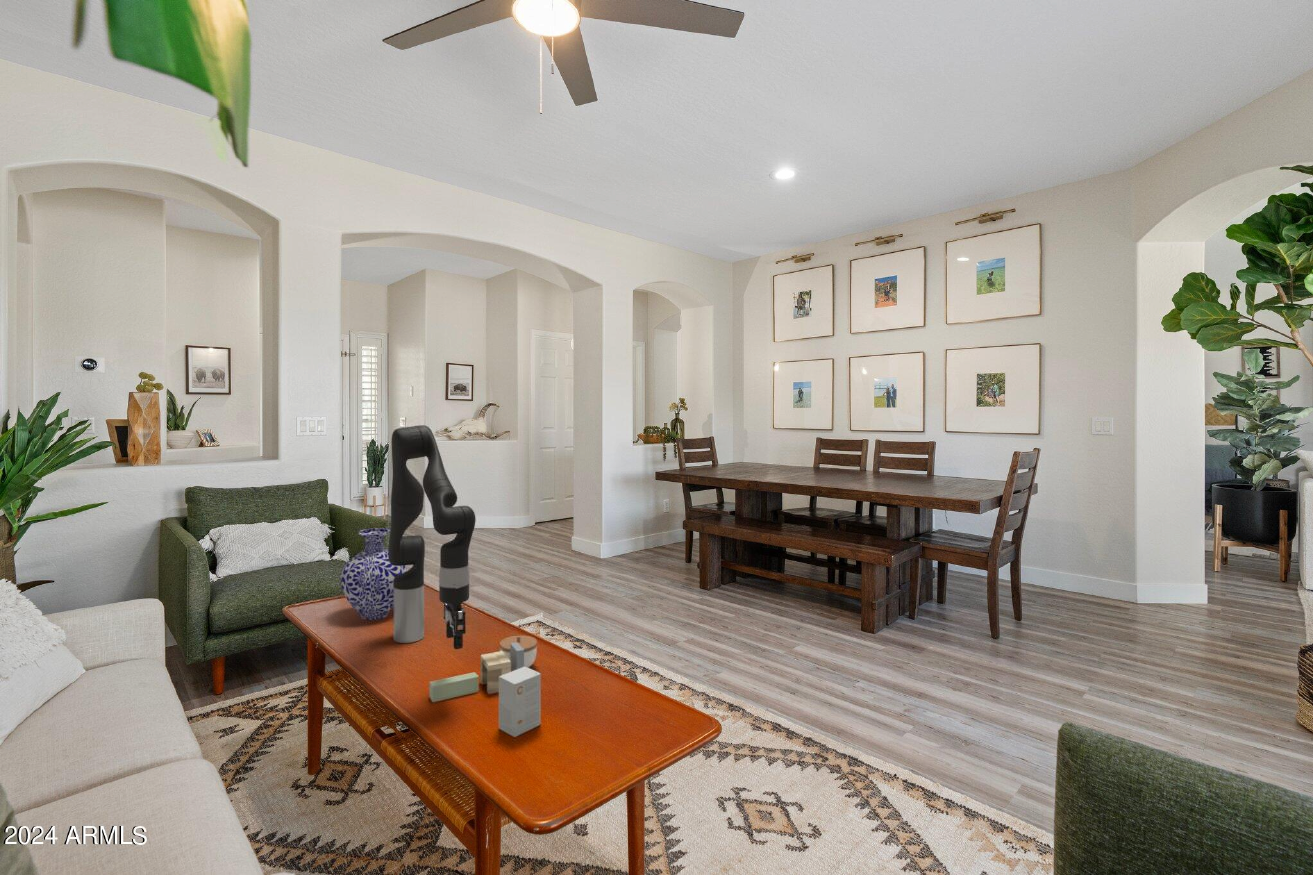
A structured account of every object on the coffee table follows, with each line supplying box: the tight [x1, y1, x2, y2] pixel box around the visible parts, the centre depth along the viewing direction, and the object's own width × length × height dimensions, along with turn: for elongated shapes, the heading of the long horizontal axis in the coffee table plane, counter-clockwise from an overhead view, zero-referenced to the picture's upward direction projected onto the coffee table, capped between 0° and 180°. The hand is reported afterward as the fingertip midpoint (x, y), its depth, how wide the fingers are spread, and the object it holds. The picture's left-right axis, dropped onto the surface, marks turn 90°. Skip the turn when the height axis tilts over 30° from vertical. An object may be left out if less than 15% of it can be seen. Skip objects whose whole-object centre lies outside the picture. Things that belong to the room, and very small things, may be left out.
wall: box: [510, 642, 524, 672], centre depth 183 cm, size 6×2×10 cm, turn 30°
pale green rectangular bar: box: [429, 671, 480, 703], centre depth 175 cm, size 3×12×4 cm, turn 123°
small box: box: [498, 667, 542, 738], centre depth 159 cm, size 8×6×13 cm
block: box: [480, 650, 511, 695], centre depth 180 cm, size 8×6×8 cm
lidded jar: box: [499, 635, 538, 668], centre depth 192 cm, size 11×11×9 cm
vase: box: [340, 527, 408, 621], centre depth 232 cm, size 22×22×30 cm
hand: (454, 642), depth 174 cm, fingers open, 8 cm apart
